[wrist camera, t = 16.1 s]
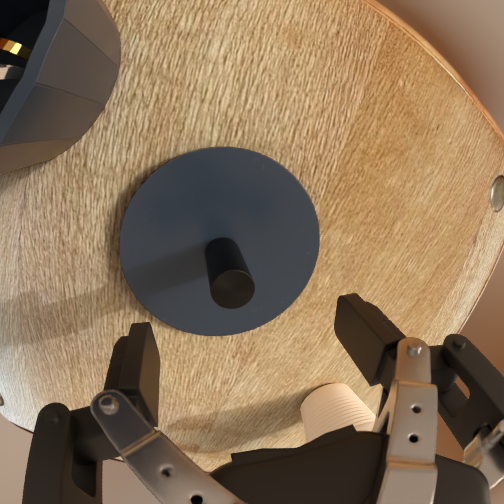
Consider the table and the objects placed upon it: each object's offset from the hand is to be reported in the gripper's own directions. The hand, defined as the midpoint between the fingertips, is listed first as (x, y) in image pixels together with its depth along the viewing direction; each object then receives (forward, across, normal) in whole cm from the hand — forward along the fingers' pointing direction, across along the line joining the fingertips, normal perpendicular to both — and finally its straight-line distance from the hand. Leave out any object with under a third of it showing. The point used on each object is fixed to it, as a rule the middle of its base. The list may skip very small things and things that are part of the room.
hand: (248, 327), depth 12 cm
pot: (+9, +12, -14) cm, 21 cm away
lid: (+8, 0, 0) cm, 9 cm away
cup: (+9, -10, +20) cm, 24 cm away
